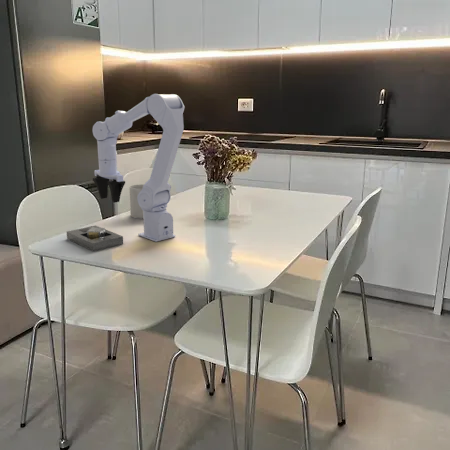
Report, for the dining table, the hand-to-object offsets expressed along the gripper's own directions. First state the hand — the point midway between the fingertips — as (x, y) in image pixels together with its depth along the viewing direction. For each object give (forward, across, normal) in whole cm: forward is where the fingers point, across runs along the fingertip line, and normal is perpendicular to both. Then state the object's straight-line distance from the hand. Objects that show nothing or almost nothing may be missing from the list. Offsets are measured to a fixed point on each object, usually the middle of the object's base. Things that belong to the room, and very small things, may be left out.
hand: (109, 200), depth 152 cm
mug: (+10, +4, -17) cm, 20 cm away
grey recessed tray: (+9, -10, +12) cm, 18 cm away
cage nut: (+10, -11, +12) cm, 18 cm away
